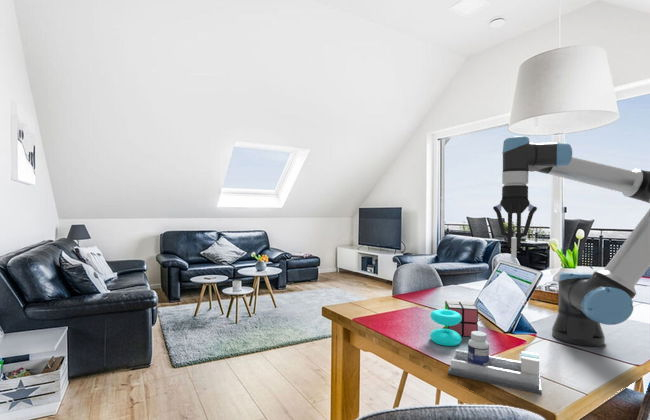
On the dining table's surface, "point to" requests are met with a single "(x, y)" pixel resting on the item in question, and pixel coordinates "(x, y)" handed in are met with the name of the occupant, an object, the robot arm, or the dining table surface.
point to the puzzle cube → (464, 317)
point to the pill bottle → (478, 348)
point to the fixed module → (530, 363)
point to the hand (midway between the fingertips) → (513, 257)
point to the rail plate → (495, 372)
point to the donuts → (446, 335)
